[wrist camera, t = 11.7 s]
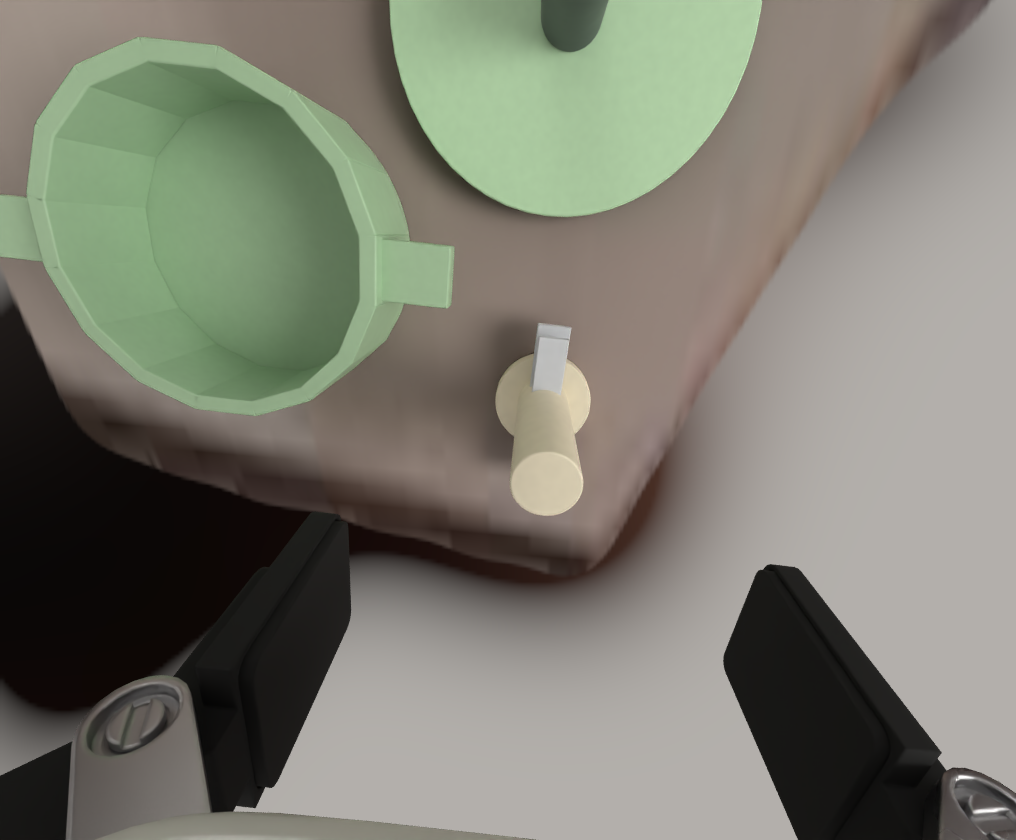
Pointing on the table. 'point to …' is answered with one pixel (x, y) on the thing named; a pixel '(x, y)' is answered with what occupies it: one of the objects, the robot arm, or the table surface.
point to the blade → (544, 423)
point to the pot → (216, 228)
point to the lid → (570, 91)
